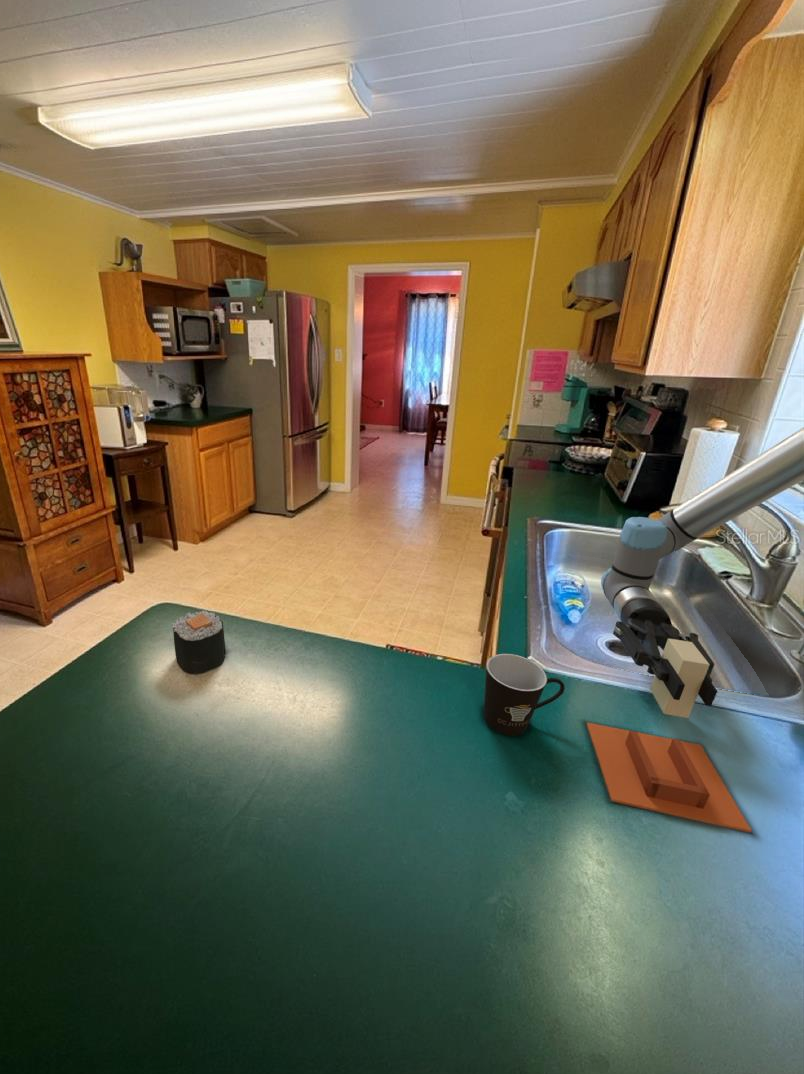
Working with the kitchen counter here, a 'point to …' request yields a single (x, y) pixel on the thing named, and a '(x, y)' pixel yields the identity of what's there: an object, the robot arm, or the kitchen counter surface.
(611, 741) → the base pad
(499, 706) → the coffee mug
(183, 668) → the sushi
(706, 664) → the block
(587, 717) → the kitchen counter surface
